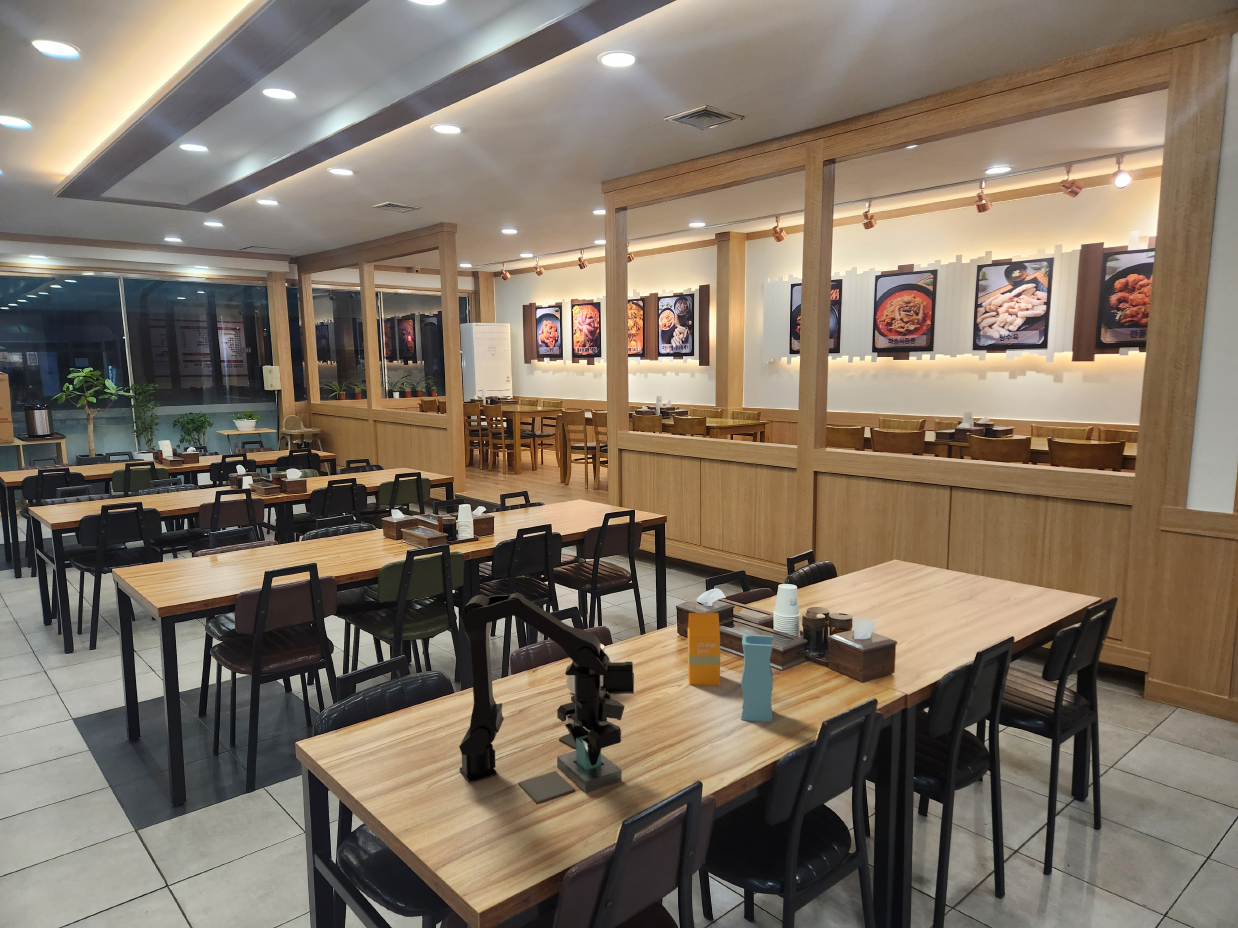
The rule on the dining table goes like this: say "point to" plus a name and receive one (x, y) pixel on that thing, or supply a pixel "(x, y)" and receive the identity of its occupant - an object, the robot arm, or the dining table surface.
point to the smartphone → (569, 741)
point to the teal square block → (584, 755)
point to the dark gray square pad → (546, 787)
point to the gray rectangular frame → (589, 772)
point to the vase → (757, 678)
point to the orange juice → (703, 649)
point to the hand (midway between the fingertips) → (588, 760)
